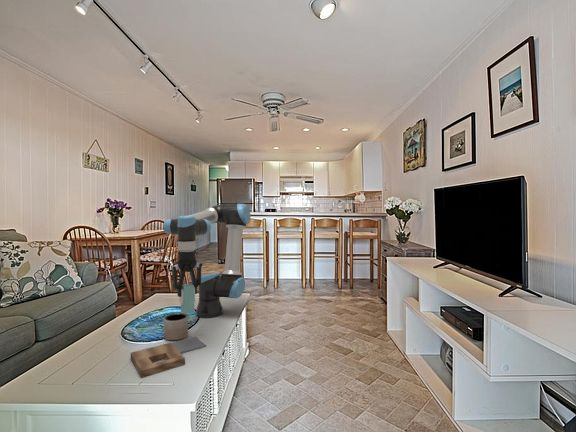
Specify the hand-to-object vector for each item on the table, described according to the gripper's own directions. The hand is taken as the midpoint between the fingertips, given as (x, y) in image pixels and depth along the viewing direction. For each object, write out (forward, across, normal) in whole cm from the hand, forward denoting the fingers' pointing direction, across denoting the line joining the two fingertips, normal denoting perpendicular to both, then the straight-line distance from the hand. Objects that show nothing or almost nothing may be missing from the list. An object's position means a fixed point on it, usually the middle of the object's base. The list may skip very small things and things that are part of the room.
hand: (187, 302), depth 140 cm
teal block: (+4, 0, 0) cm, 4 cm away
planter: (+20, +1, -13) cm, 24 cm away
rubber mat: (+19, 0, 0) cm, 19 cm away
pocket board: (+19, +15, +7) cm, 25 cm away
